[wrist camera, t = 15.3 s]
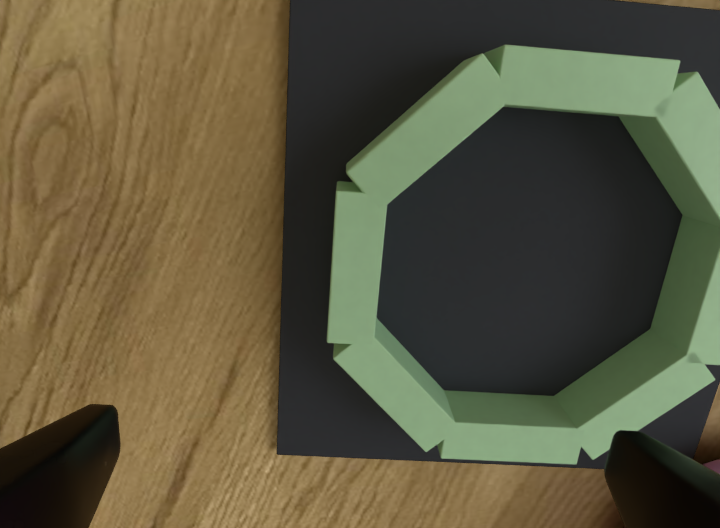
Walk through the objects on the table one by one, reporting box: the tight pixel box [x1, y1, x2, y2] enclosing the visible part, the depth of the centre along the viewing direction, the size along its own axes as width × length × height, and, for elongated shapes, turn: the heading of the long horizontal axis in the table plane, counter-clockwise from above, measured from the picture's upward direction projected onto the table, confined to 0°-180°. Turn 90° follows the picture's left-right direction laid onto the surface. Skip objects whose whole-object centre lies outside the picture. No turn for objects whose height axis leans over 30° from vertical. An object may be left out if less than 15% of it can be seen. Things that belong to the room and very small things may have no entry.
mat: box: [277, 0, 720, 469], centre depth 20 cm, size 20×20×1 cm
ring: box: [327, 45, 720, 464], centre depth 19 cm, size 16×16×2 cm
